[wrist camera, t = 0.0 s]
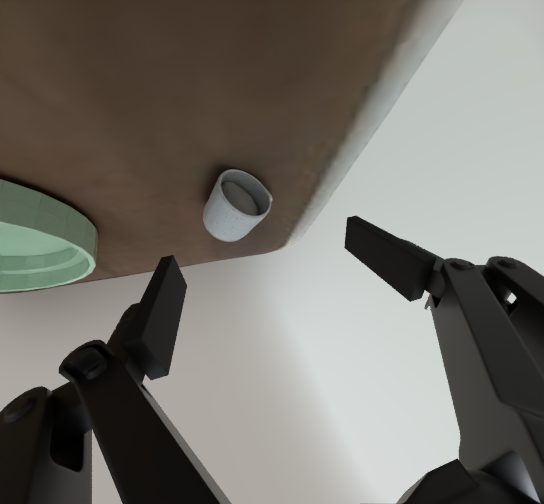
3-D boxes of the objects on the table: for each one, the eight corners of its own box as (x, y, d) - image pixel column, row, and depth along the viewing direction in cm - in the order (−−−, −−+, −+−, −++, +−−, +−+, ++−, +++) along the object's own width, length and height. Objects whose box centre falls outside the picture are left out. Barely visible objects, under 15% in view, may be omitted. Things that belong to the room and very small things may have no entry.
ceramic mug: (196, 203, 30) (204, 247, 27) (213, 161, 24) (225, 211, 21) (255, 212, 36) (266, 248, 33) (280, 180, 30) (296, 220, 27)
